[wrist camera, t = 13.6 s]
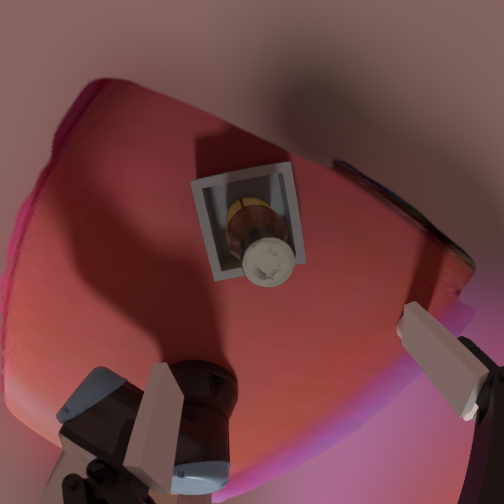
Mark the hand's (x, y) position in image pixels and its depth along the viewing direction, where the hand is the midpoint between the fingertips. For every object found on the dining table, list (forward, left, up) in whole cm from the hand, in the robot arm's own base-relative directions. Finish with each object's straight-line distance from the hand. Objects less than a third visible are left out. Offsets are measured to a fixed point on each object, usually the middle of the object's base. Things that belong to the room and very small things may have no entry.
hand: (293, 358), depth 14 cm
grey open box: (-1, +2, -29) cm, 29 cm away
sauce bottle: (0, +2, -28) cm, 28 cm away
